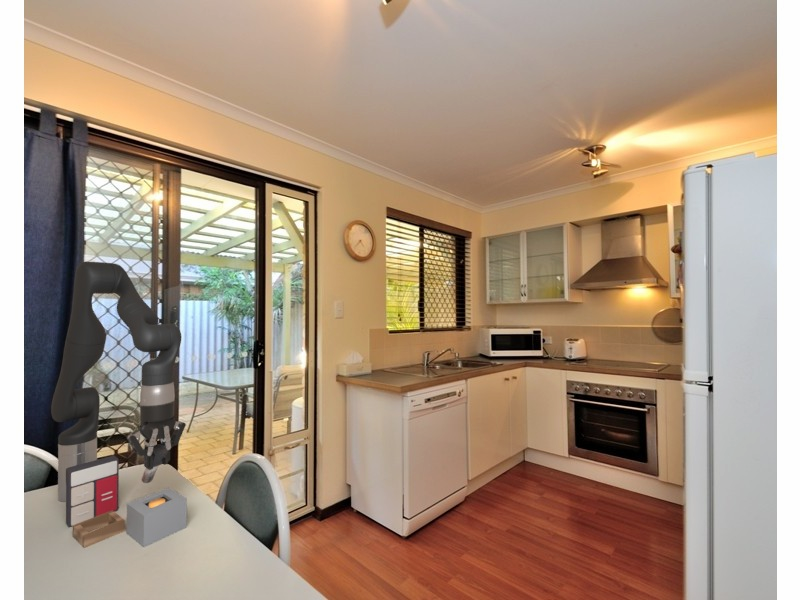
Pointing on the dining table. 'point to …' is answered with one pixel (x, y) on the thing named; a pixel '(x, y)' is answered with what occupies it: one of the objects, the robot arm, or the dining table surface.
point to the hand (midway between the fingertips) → (157, 466)
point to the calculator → (91, 489)
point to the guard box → (156, 517)
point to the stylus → (155, 462)
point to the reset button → (156, 502)
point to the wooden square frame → (98, 528)
